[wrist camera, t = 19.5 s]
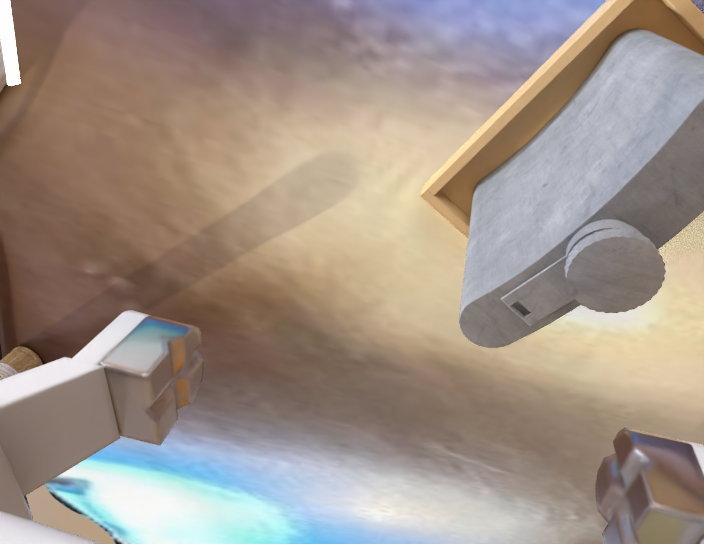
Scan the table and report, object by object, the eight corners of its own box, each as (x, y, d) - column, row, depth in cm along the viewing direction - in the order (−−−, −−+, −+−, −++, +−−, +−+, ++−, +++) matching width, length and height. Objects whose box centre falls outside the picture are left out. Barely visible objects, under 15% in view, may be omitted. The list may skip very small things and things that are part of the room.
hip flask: (634, 17, 32) (777, 75, 16) (680, 58, 33) (864, 156, 16) (465, 195, 41) (441, 354, 24) (503, 225, 42) (505, 401, 25)
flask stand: (497, 251, 43) (497, 265, 41) (423, 184, 42) (419, 196, 40) (735, 58, 33) (750, 64, 31) (645, -39, 31) (655, -39, 29)
